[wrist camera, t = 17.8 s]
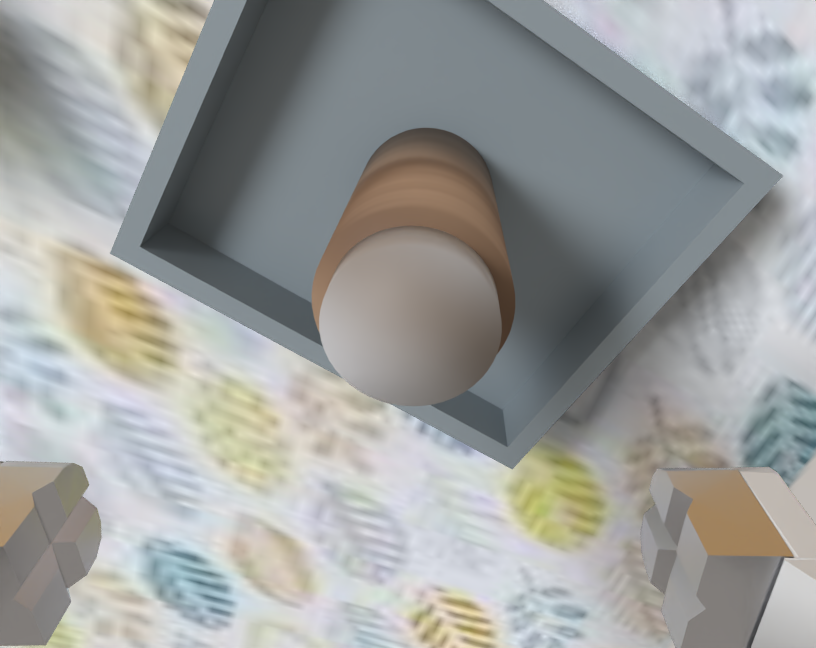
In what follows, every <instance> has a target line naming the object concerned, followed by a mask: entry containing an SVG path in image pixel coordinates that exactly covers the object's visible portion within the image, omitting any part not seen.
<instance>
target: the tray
mask: <svg viewBox="0 0 816 648" xmlns="http://www.w3.org/2000/svg"><path fill="white" fill-rule="evenodd" d="M416 128H436V129H441V130H445V131H448V132H451V133H454V134H456V135H458V136H460V137H461V138H463V139H464V140H466V141H467V142H469V143H470V144H471V145H472V146H473V147H474V148H475V149H476V150H477V151H478V152H479V154H480V155H481V156H482V158H483V160H484V161H485V163H486V165H487V167H488V169H489V172H490V175H491V179H492V183H493V188H494V193H495V198H496V202H497V207H498V212H499V217H500V222H501V226H502V231H503V236H504V241H505V245H506V250H507V255H508V260H509V265H510V269H511V274H512V279H513V284H514V290H515V314H514V320H513V324H512V327H511V331H510V333H509V335H508V337H507V340H506V342H505V343H504V345H503V347H502V348H501V350H500V351H499V353H498V354H497V355H496V357H495V359H494V362H493V363H492V365H491V366H490V368H489V370H488V371H487V372H486V373H485V375H484V376H483V377H482V378H481V379H480V380H479V381H478V382H477V383H476V384H475V385H474V386H472V387H471V388H470V389H468V390H467V391H465V392H464V393H462V394H460V395H458V396H456V397H454V398H452V399H449V400H447V401H444V402H440V403H437V404H432V405H425V406H400V405H395V404H391V405H393V406H395V407H397V408H399V409H401V410H403V411H405V412H406V413H408V414H410V415H412V416H414V417H416V418H418V419H419V420H421V421H423V422H425V423H427V424H429V425H431V426H432V427H434V428H436V429H438V430H440V431H442V432H444V433H446V434H447V435H449V436H451V437H453V438H455V439H457V440H459V441H460V442H462V443H464V444H466V445H468V446H470V447H472V448H473V449H475V450H477V451H479V452H481V453H483V454H485V455H486V456H488V457H490V458H492V459H494V460H496V461H498V462H500V463H501V464H503V465H505V466H507V467H509V468H511V469H513V468H514V467H515V466H516V465H517V464H518V462H519V461H520V460H521V459H522V458H523V457H524V456H525V455H526V454H527V453H528V452H529V451H530V449H531V448H532V447H533V446H534V445H535V444H536V443H537V442H538V441H539V440H540V439H541V438H542V436H543V435H544V434H545V433H546V432H547V431H548V430H549V429H550V428H551V427H552V426H553V425H554V423H555V422H556V421H557V420H558V419H559V418H560V417H561V416H562V415H563V414H564V413H565V412H566V410H567V409H568V408H569V407H570V406H571V405H572V404H573V403H574V402H575V401H576V400H577V399H578V397H579V396H580V395H581V394H582V393H583V392H584V391H585V390H586V389H587V388H588V387H589V386H590V384H591V383H592V382H593V381H594V380H595V379H596V378H597V377H598V376H599V375H600V374H601V373H602V371H603V370H604V369H605V368H606V367H607V366H608V365H609V364H610V363H611V362H612V361H613V360H614V358H615V357H616V356H617V355H618V354H619V353H620V352H621V351H622V350H623V349H624V348H625V347H626V345H627V344H628V343H629V342H630V341H631V340H632V339H633V338H634V337H635V336H636V335H637V334H638V332H639V331H640V330H641V329H642V328H643V327H644V326H645V325H646V324H647V323H648V322H649V321H650V319H651V318H652V317H653V316H654V315H655V314H656V313H657V312H658V311H659V310H660V309H661V308H662V306H663V305H664V304H665V303H666V302H667V301H668V300H669V299H670V298H671V297H672V296H673V295H674V293H675V292H676V291H677V290H678V289H679V288H680V287H681V286H682V285H683V284H684V283H685V282H686V280H687V279H688V278H689V277H690V276H691V275H692V274H693V273H694V272H695V271H696V270H697V269H698V267H699V266H700V265H701V264H702V263H703V262H704V261H705V260H706V259H707V258H708V257H709V256H710V254H711V253H712V252H713V251H714V250H715V249H716V248H717V247H718V246H719V245H720V244H721V243H722V241H723V240H724V239H725V238H726V237H727V236H728V235H729V234H730V233H731V232H732V231H733V230H734V228H735V227H736V226H737V225H738V224H739V223H740V222H741V221H742V220H743V219H744V218H745V217H746V215H747V214H748V213H749V212H750V211H751V210H752V209H753V208H754V207H755V206H756V205H757V204H758V202H759V201H760V200H761V199H762V198H763V197H764V196H765V195H766V194H767V193H768V192H769V191H770V189H771V188H772V187H773V186H774V185H775V184H776V183H777V182H778V181H779V180H780V179H781V178H782V176H783V175H782V174H780V173H779V172H777V171H776V170H775V169H773V168H772V167H771V166H769V165H768V164H767V163H765V162H764V161H762V160H761V159H760V158H758V157H757V156H756V155H754V154H753V153H751V152H750V151H749V150H747V149H746V148H745V147H743V146H742V145H740V144H739V143H738V142H736V141H735V140H734V139H732V138H731V137H730V136H728V135H727V134H725V133H724V132H723V131H721V130H720V129H719V128H717V127H716V126H714V125H713V124H712V123H710V122H709V121H708V120H706V119H705V118H703V117H702V116H701V115H699V114H698V113H697V112H695V111H694V110H693V109H691V108H690V107H688V106H687V105H686V104H684V103H683V102H682V101H680V100H679V99H677V98H676V97H675V96H673V95H672V94H671V93H669V92H668V91H667V90H665V89H664V88H662V87H661V86H660V85H658V84H657V83H656V82H654V81H653V80H651V79H650V78H649V77H647V76H646V75H645V74H643V73H642V72H640V71H639V70H638V69H636V68H635V67H634V66H632V65H631V64H630V63H628V62H627V61H625V60H624V59H623V58H621V57H620V56H619V55H617V54H616V53H614V52H613V51H612V50H610V49H609V48H608V47H606V46H605V45H603V44H602V43H601V42H599V41H598V40H597V39H595V38H594V37H593V36H591V35H590V34H588V33H587V32H586V31H584V30H583V29H582V28H580V27H579V26H577V25H576V24H575V23H573V22H572V21H571V20H569V19H568V18H567V17H565V16H564V15H562V14H561V13H560V12H558V11H557V10H556V9H554V8H553V7H551V6H550V5H549V4H547V3H546V2H545V1H543V0H214V2H213V5H212V7H211V9H210V12H209V14H208V17H207V19H206V22H205V24H204V26H203V29H202V31H201V34H200V36H199V39H198V41H197V43H196V46H195V48H194V51H193V53H192V56H191V58H190V60H189V63H188V65H187V68H186V70H185V73H184V75H183V77H182V80H181V82H180V85H179V87H178V90H177V92H176V94H175V97H174V99H173V102H172V104H171V107H170V109H169V111H168V114H167V116H166V119H165V121H164V124H163V126H162V128H161V131H160V133H159V136H158V138H157V141H156V143H155V145H154V148H153V150H152V153H151V155H150V157H149V160H148V162H147V165H146V167H145V170H144V172H143V174H142V177H141V179H140V182H139V184H138V187H137V189H136V191H135V194H134V196H133V199H132V201H131V204H130V206H129V208H128V211H127V213H126V216H125V218H124V221H123V223H122V225H121V228H120V230H119V233H118V235H117V238H116V240H115V242H114V245H113V247H112V250H111V252H110V254H112V255H114V256H116V257H118V258H120V259H121V260H123V261H125V262H127V263H129V264H131V265H133V266H134V267H136V268H138V269H140V270H142V271H144V272H146V273H147V274H149V275H151V276H153V277H155V278H157V279H159V280H161V281H162V282H164V283H166V284H168V285H170V286H172V287H174V288H175V289H177V290H179V291H181V292H183V293H185V294H187V295H188V296H190V297H192V298H194V299H196V300H198V301H200V302H201V303H203V304H205V305H207V306H209V307H211V308H213V309H215V310H216V311H218V312H220V313H222V314H224V315H226V316H228V317H229V318H231V319H233V320H235V321H237V322H239V323H241V324H242V325H244V326H246V327H248V328H250V329H252V330H254V331H256V332H257V333H259V334H261V335H263V336H265V337H267V338H269V339H270V340H272V341H274V342H276V343H278V344H280V345H282V346H283V347H285V348H287V349H289V350H291V351H293V352H295V353H296V354H298V355H300V356H302V357H304V358H306V359H308V360H310V361H311V362H313V363H315V364H317V365H319V366H321V367H323V368H324V369H326V370H328V371H330V372H332V373H334V374H336V375H337V376H339V377H341V376H340V374H339V373H338V372H337V371H336V370H335V368H334V367H333V365H332V364H331V362H330V361H329V359H328V357H327V355H326V353H325V351H324V348H323V345H322V342H321V337H320V333H319V331H318V328H317V325H316V322H315V319H314V315H313V309H312V286H313V280H314V276H315V273H316V270H317V267H318V265H319V263H320V260H321V258H322V256H323V254H324V252H325V250H326V248H327V246H328V244H329V241H330V239H331V237H332V235H333V233H334V231H335V229H336V227H337V225H338V223H339V221H340V219H341V217H342V214H343V212H344V210H345V208H346V206H347V204H348V202H349V200H350V198H351V196H352V194H353V192H354V190H355V187H356V185H357V183H358V181H359V179H360V177H361V175H362V173H363V171H364V169H365V167H366V165H367V163H368V161H369V159H370V158H371V156H372V155H373V154H374V152H375V151H376V150H377V149H378V148H379V147H380V146H381V145H382V144H383V143H384V142H386V141H387V140H388V139H390V138H391V137H393V136H395V135H397V134H399V133H402V132H404V131H407V130H411V129H416ZM341 378H342V377H341Z"/></svg>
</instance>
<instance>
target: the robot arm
mask: <svg viewBox="0 0 816 648" xmlns="http://www.w3.org/2000/svg"><path fill="white" fill-rule="evenodd" d="M88 486H89V483H88V480H87V478H86V475H85V472H84V470H83V467H82V466H79V465H77V464H74V463H57V462H25V461H6V462H2V461H0V646H19V645H46V644H47V642H48V641H49V639H50V637H51V636H52V634H53V632H54V631H55V629H56V627H57V625H58V624H59V622H60V620H61V619H62V617H63V615H64V613H65V612H66V610H67V608H68V607H69V605H70V603H71V599H70V594H69V590H68V588H69V587H70V586H72V585H73V584H75V583H76V582H78V581H79V580H80V579H82V578H83V577H85V576H86V575H87V574H88V572H89V570H90V568H91V566H92V565H93V563H94V561H95V559H96V557H97V553H98V549H99V545H100V541H101V520H100V517H99V514H98V510H97V508H96V507H95V506H94V505H92V504H91V503H90V502H89V501H88V500H86V499H85V498H84V497H83V494H84V493H85V491H86V489H87V488H88ZM649 491H650V493H651V495H652V498H653V500H654V502H655V505H654V506H652V507H651V508H650V509H649V510H648V511H647V512H646V513H644V517H643V522H642V528H641V551H642V556H643V560H644V565H645V568H646V571H647V574H648V577H649V580H650V582H651V583H652V584H653V585H654V586H655V587H657V588H658V589H659V590H660V591H661V592H663V593H664V594H665V597H664V601H663V605H662V609H661V612H662V614H663V617H664V619H665V622H666V625H667V627H668V630H669V632H670V635H671V638H672V640H673V643H674V645H675V648H816V524H815V523H814V522H813V520H812V519H811V518H810V516H809V515H808V513H807V512H806V511H805V510H804V508H803V507H802V505H801V504H800V503H799V501H798V500H797V499H796V497H795V496H794V494H793V493H792V492H791V490H790V489H789V488H788V486H787V485H786V484H785V482H784V481H783V480H782V478H781V477H780V475H779V474H778V473H777V472H776V471H774V470H773V469H771V468H769V467H732V468H730V469H728V468H657V470H656V471H655V473H654V474H653V476H652V480H651V485H650V489H649Z"/></svg>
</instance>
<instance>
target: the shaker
mask: <svg viewBox="0 0 816 648" xmlns="http://www.w3.org/2000/svg"><path fill="white" fill-rule="evenodd" d="M312 309H313V315H314V319H315V322H316V325H317V328H318V331H319V333H320V337H321V342H322V345H323V348H324V351H325V353H326V355H327V357H328V359H329V361H330V362H331V364H332V365H333V367H334V368H335V370H336V371H337V372H338V373H339V374H340V376H341V377H342V378H343V379H344V380H346V381H347V382H348V383H349V384H350V385H351V386H353V387H354V388H356V389H357V390H358V391H360V392H362V393H364V394H366V395H367V396H369V397H372V398H374V399H377V400H379V401H382V402H386V403H389V404H395V405H400V406H425V405H432V404H437V403H440V402H444V401H447V400H449V399H452V398H454V397H456V396H458V395H460V394H462V393H464V392H465V391H467V390H468V389H470V388H471V387H472V386H474V385H475V384H476V383H477V382H478V381H479V380H480V379H481V378H482V377H483V376H484V375H485V373H486V372H487V371H488V370H489V368H490V366H491V365H492V363H493V362H494V359H495V357H496V355H497V354H498V353H499V351H500V350H501V348H502V347H503V345H504V343H505V342H506V340H507V337H508V335H509V333H510V331H511V327H512V324H513V320H514V314H515V290H514V284H513V279H512V274H511V269H510V265H509V260H508V255H507V250H506V245H505V241H504V236H503V231H502V226H501V222H500V217H499V212H498V207H497V202H496V198H495V193H494V188H493V183H492V179H491V175H490V172H489V169H488V167H487V165H486V163H485V161H484V160H483V158H482V156H481V155H480V154H479V152H478V151H477V150H476V149H475V148H474V147H473V146H472V145H471V144H470V143H469V142H467V141H466V140H464V139H463V138H461V137H460V136H458V135H456V134H454V133H451V132H448V131H445V130H441V129H436V128H416V129H411V130H407V131H404V132H402V133H399V134H397V135H395V136H393V137H391V138H390V139H388V140H387V141H386V142H384V143H383V144H382V145H381V146H380V147H379V148H378V149H377V150H376V151H375V152H374V154H373V155H372V156H371V158H370V159H369V161H368V163H367V165H366V167H365V169H364V171H363V173H362V175H361V177H360V179H359V181H358V183H357V185H356V187H355V190H354V192H353V194H352V196H351V198H350V200H349V202H348V204H347V206H346V208H345V210H344V212H343V214H342V217H341V219H340V221H339V223H338V225H337V227H336V229H335V231H334V233H333V235H332V237H331V239H330V241H329V244H328V246H327V248H326V250H325V252H324V254H323V256H322V258H321V260H320V263H319V265H318V267H317V270H316V273H315V276H314V280H313V286H312Z"/></svg>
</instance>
